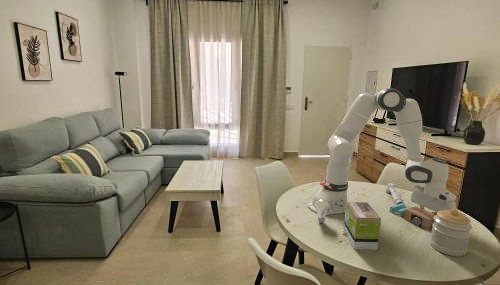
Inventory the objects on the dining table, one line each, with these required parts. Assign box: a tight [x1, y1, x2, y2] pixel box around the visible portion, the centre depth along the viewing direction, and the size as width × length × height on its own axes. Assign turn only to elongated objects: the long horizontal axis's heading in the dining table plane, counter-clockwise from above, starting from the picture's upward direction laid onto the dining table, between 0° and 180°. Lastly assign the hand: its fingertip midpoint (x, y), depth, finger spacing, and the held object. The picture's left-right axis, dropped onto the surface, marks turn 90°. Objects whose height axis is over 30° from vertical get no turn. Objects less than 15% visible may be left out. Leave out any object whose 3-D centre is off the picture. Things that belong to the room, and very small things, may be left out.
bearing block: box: [403, 205, 436, 231], centre depth 137 cm, size 8×12×5 cm, turn 27°
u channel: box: [389, 202, 413, 217], centre depth 149 cm, size 10×6×3 cm, turn 117°
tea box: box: [343, 201, 382, 251], centre depth 120 cm, size 15×10×15 cm, turn 178°
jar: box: [429, 208, 473, 257], centre depth 115 cm, size 13×13×18 cm
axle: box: [411, 211, 437, 227], centre depth 139 cm, size 16×4×4 cm, turn 117°
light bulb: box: [315, 199, 330, 224], centre depth 135 cm, size 7×7×12 cm
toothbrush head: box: [385, 182, 405, 205], centre depth 166 cm, size 5×7×25 cm
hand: (429, 216), depth 141 cm, fingers open, 5 cm apart
